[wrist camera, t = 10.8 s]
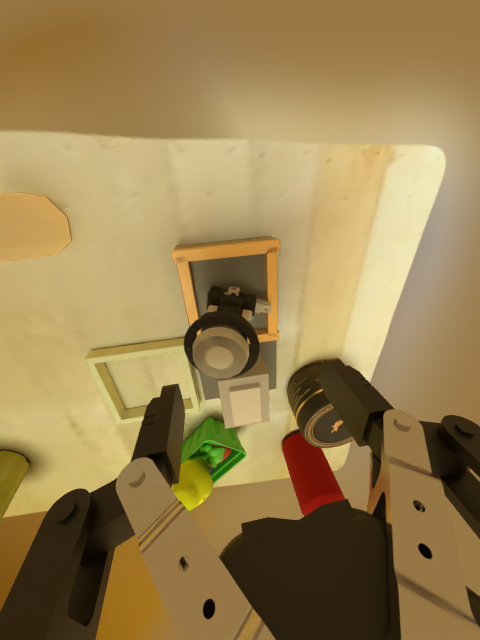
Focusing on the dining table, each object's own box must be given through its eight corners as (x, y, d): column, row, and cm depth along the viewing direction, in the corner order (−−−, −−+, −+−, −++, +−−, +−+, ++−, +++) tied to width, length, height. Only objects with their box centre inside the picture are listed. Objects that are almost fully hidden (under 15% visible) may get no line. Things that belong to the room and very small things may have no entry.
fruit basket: (205, 460, 40) (204, 543, 30) (162, 446, 37) (145, 534, 27) (244, 424, 37) (257, 503, 27) (200, 405, 34) (198, 487, 24)
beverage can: (288, 455, 43) (314, 536, 33) (274, 438, 40) (299, 521, 29) (319, 441, 42) (356, 519, 32) (308, 423, 39) (345, 502, 29)
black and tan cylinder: (274, 280, 22) (288, 331, 13) (265, 325, 24) (271, 394, 16) (209, 271, 22) (178, 317, 13) (207, 318, 24) (179, 382, 16)
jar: (277, 405, 36) (293, 450, 29) (293, 356, 32) (316, 397, 25) (330, 406, 38) (357, 448, 31) (353, 360, 34) (389, 398, 27)
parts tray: (121, 414, 32) (117, 424, 31) (91, 350, 27) (83, 359, 25) (200, 401, 33) (199, 411, 32) (185, 337, 28) (184, 345, 26)
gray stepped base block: (205, 387, 32) (204, 447, 24) (176, 245, 23) (160, 266, 15) (271, 377, 33) (292, 431, 25) (269, 236, 24) (302, 250, 16)
